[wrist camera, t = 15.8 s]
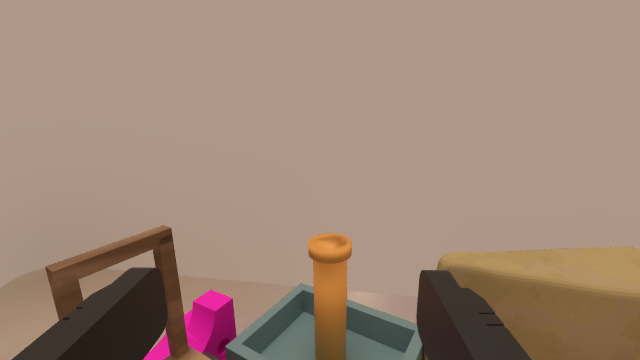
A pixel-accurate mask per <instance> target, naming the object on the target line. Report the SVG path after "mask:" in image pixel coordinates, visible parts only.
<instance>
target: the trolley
mask: <svg viewBox="0 0 640 360" xmlns="http://www.w3.org/2000/svg"><path fill="white" fill-rule="evenodd" d="M152 249H153V254H154V260H155V266H156V268H158V269H160V271H161V273H162V277H163V284H164V290H165V297H166V303H167V309H168V318H167V323H166V326H165V327H166V333H167V339H168V345H169V351H170V354H171V355H169V356H168V357H166V358H165V359H164V360H218V359H217V358H216V357H215V356H214V355H212V354H211V353H208V352H204V353H200V352H198V351H197V350H195V349H194V348H192V347H191V346H189V345H188V340H187V333H186V326H185V319H184V313H183V306H182V299H181V292H180V285H179V278H178V272H177V265H176V258H175V251H174V244H173V237H172V230H171V228H170V227H166V226H164V225H163V226H160V227H157V228H154V229H151V230H148V231H146V232H143V233H140V234H137V235H134V236H131V237H129V238H126V239H123V240H120V241H117V242H114V243H112V244H109V245H106V246H103V247H100V248H97V249H95V250H92V251H89V252H86V253H83V254H80V255H77V256H75V257H72V258H69V259H66V260H63V261H60V262H58V263H55V264H52V265H49V266H46V267H45V268H46V272H47V276H48V279H49V283H50V287H51V291H52V295H53V299H54V302H55V306H56V310H57V314H58V318H59V321H62V320H63V317H64V316H66V315H67V314H68V313H69V312H71V311H72V310H75V309H76V307H77V306H78V305H79V304H80V303H82V302H83V298H82V293H81V289H80V285H79V280H78V279H81V278H83V277H86V276H88V275H90V274H93V273H95V272H98V271H100V270H103V269H105V268H107V267H110V266H112V265H115V264H117V263H120V262H122V261H125V260H127V259H130V258H132V257H135V256H137V255H139V254H142V253H144V252H147V251H149V250H152Z"/></svg>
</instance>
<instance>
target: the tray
mask: <svg viewBox="0 0 640 360" xmlns="http://www.w3.org/2000/svg"><path fill="white" fill-rule="evenodd" d="M225 352H226V360H315V328H314V288H313V287H310V286H308V285H305V284H302V283H301V284H299V285H298V286H297V287H296V288H294V289H293V290H292V291H291V292H290V293H288V294H287V295H286V296H285V297H284V298H282V299H281V300H280V301H279V302H278V303H277V304H275V305H274V306H273V307H272V308H271V309H269V310H268V311H267V312H266V313H265V314H263V315H262V316H261V317H260V318H259V319H257V320H256V321H255V322H254V323H253V324H251V325H250V326H249V327H248V328H247V329H245V330H244V331H243V332H242V333H241V334H239V335H238V336H237V337H236V338H235V339H233V340H232V341H231V342H230V343H229V344H227V345H226V346H225ZM423 355H424V348H423V345H422V342H421V340H420V337H419V333H418V328H417V324H415V323H412V322H409V321H406V320H403V319H401V318H398V317H395V316H392V315H389V314H387V313H384V312H381V311H378V310H375V309H372V308H370V307H367V306H364V305H361V304H358V303H355V302H353V301H350V300H347V314H346V360H423Z"/></svg>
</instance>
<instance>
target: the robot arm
mask: <svg viewBox="0 0 640 360" xmlns="http://www.w3.org/2000/svg"><path fill="white" fill-rule="evenodd" d="M167 318H168V309H167V303H166V297H165V290H164V284H163V277H162V273H161V271H160V269H158V268H130V269H129V270H127V271H126V272H125V273H124V274H122V275H121V276H120V277H119V278H118V279H116V280H115V281H114V282H113V283H112V284H110V285H108V286H106V287H105V288H103V289H101V290H99V291H97V292H95V293H93V294H91V295H90V296H89V297H88V298H87V299H85V300H84V301H83V302H82V303H80V304H79V305H78V306H77V307H76V309H75V310H72V311H71V312H69V313H68V314H67V315H66V316H64V317H63V320H62V321H58V322H57V323H56V324H55V325H53V326H52V327H51V328H50V329H48V330H47V331H46V332H45V333H44V334H42V335H41V336H40V337H39V338H37V339H36V340H35V341H34V342H33V343H31V344H30V345H29V346H28V347H26V348H25V349H24V350H23V351H22V352H20V353H19V354H18V355H17V356H15V357H14V358H13V359H12V360H143V359H144V358H145V357H146V355H147V354H148V352H149V351H150V350H151V348H152V347H153V345H154V344H155V343H156V341H157V340H158V338H159V337H160V336H161V334H162V333H163V331H164V329H165V326H166V323H167ZM417 328H418V333H419V337H420V340H421V342H422V345H423V348H424V350H425V353H426V356H427V358H428V360H532V359H531V358H530V357H529V356H528V354H527V353H526V352H525V350H524V349H523V348H522V347H521V345H520V344H519V343H518V341H517V340H516V339H515V338H514V336H513V335H512V334H511V332H510V331H509V330H508V329H507V327H504V323H503V322H502V321H501V320H500V318H499V317H498V316H497V315H495V312H494V311H493V309H492V308H491V307H490V305H489V304H488V303H487V302H486V300H485V299H484V298H482V297H481V296H479V295H478V294H477V293H475V292H474V291H472V290H471V289H469V288H461V287H460V286H459V285H458V283H457V282H456V280H455V279H454V277H453V276H452V275H451V273H450V272H449V271H447V270H422V271H421V273H420V278H419V291H418V303H417Z"/></svg>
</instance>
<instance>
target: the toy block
mask: <svg viewBox="0 0 640 360" xmlns="http://www.w3.org/2000/svg"><path fill="white" fill-rule="evenodd" d="M184 319H185V326H186V333H187V340H188V345H189V346H191V347H192V348H194V349H195V350H197V351H198V352H200V353H204V352H208V353H211V354H212V355H214V356H215V357H216V358H217V359H218V360H226V352H225V346H226V345H227V344H229V343H230V342H231V341H232V340H233V339H235V338H236V328H235V317H234V307H233V298H230V297H228V296H225V295H223V294H220V293H218V292H215V291H213V290H210V291H208V292H207V293H205V294H204V295H202V296H200V297H199V298H197V299H196V300H194V301H193V309H192V310H191V311H190V312H188V313H187V314H185V315H184ZM169 355H171V354H170V351H169V345H168V339H167V333H166V335H165V336H164V337H163V339H162V340H161V341H160V342H159V343H158V344H157V345H156V346H155V347H154V348H153V349H152V350H151V351H150V352H149V353H148V354H147V355H146V357H145V358H144V359H143V360H164V359H165V358H166V357H168V356H169Z"/></svg>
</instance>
